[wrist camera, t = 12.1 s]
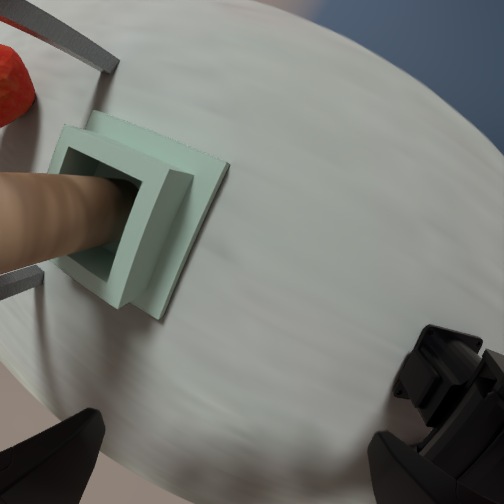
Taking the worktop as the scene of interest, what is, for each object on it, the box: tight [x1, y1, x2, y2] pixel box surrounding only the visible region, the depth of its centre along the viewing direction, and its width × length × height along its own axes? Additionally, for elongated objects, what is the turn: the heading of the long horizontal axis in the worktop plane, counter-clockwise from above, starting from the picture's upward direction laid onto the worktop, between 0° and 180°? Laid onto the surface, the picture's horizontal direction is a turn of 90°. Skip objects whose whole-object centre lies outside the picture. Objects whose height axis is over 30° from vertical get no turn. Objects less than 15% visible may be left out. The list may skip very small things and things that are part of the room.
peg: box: [0, 172, 139, 274], centre depth 14 cm, size 4×4×12 cm
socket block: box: [47, 109, 230, 320], centre depth 18 cm, size 12×12×5 cm
